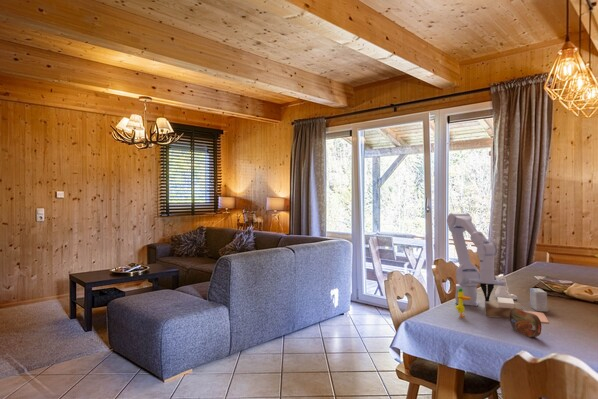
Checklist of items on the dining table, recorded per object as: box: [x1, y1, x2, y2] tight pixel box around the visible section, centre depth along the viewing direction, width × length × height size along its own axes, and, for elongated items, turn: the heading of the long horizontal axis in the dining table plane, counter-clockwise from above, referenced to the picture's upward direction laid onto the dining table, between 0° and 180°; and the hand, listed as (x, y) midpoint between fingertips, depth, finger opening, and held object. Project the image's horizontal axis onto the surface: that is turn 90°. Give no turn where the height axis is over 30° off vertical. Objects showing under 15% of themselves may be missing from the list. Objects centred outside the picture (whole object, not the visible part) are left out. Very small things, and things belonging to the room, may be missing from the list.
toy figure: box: [454, 288, 471, 318], centre depth 166 cm, size 7×4×12 cm, turn 54°
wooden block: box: [484, 299, 523, 319], centre depth 169 cm, size 14×12×4 cm
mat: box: [527, 310, 550, 324], centre depth 164 cm, size 9×14×1 cm, turn 156°
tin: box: [509, 308, 542, 338], centre depth 146 cm, size 15×3×8 cm, turn 5°
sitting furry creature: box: [494, 273, 518, 301], centre depth 195 cm, size 10×9×12 cm
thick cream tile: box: [496, 297, 515, 308], centre depth 169 cm, size 6×9×2 cm, turn 156°
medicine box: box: [529, 287, 548, 313], centre depth 176 cm, size 8×4×9 cm, turn 168°
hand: (487, 300), depth 172 cm, fingers closed
